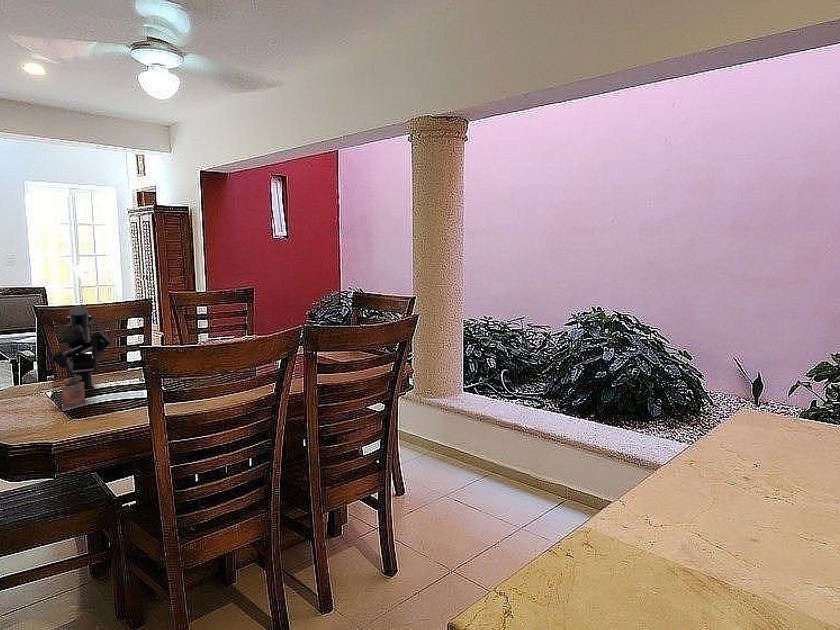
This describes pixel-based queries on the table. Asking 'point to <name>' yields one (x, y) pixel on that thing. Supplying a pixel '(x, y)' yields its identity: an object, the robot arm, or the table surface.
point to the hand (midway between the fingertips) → (82, 364)
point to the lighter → (73, 392)
